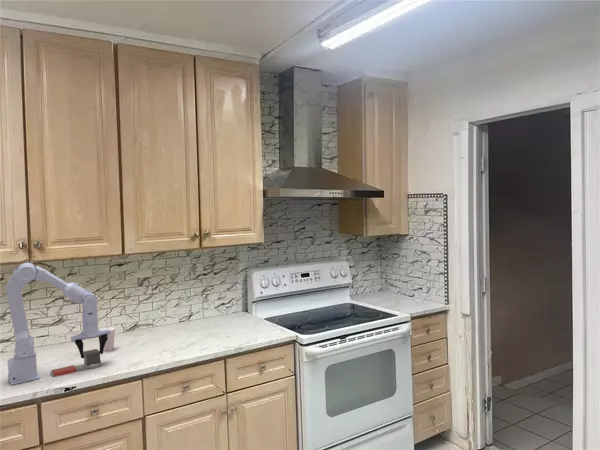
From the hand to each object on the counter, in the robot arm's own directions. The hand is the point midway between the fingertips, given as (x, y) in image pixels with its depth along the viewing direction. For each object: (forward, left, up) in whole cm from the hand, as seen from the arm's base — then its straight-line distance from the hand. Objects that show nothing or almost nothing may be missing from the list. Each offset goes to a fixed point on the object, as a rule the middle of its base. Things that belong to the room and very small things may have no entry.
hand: (92, 355), depth 188 cm
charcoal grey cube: (0, 0, -3) cm, 3 cm away
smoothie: (+11, +17, -5) cm, 21 cm away
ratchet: (-6, 0, -5) cm, 8 cm away
